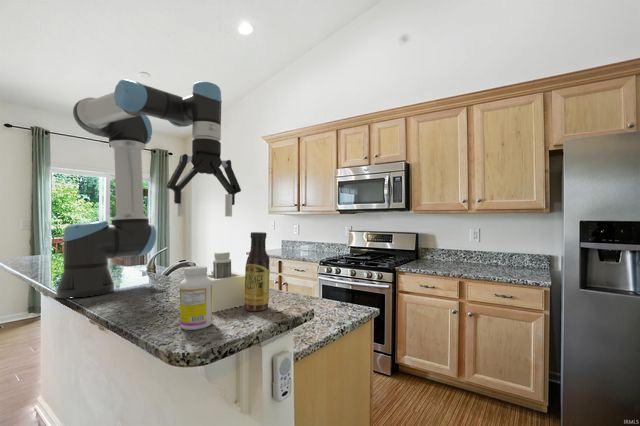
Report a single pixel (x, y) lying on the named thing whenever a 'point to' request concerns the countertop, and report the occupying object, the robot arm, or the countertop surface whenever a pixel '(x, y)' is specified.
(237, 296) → the cream open-top box
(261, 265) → the sauce bottle
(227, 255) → the pill bottle
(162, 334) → the countertop surface
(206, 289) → the supplement bottle
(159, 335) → the countertop surface
